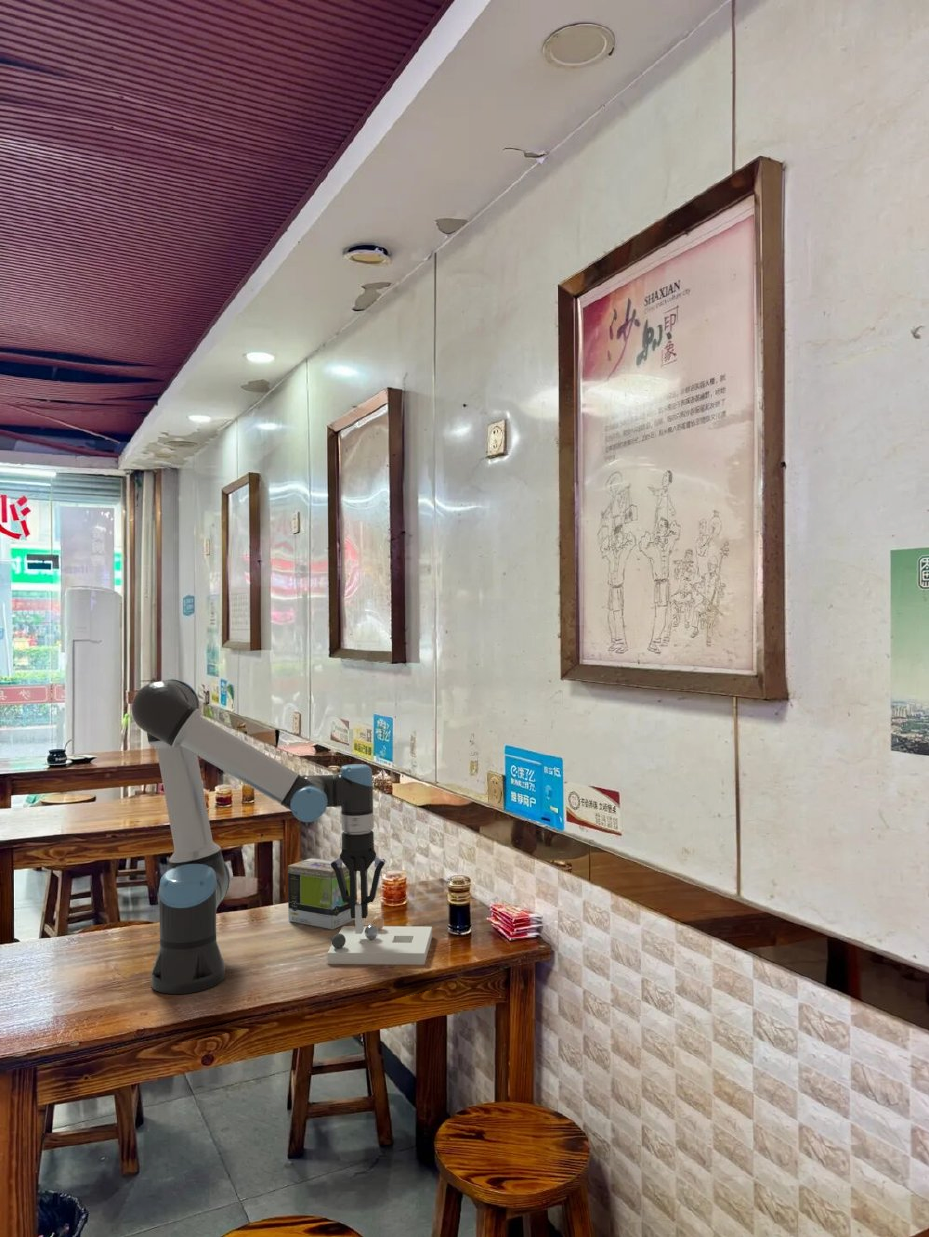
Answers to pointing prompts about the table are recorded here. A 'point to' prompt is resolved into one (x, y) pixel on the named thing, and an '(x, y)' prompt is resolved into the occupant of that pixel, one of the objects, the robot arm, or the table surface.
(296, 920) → the tea box
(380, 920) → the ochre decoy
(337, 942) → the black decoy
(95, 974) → the table surface
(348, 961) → the platform
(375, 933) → the steel ball
